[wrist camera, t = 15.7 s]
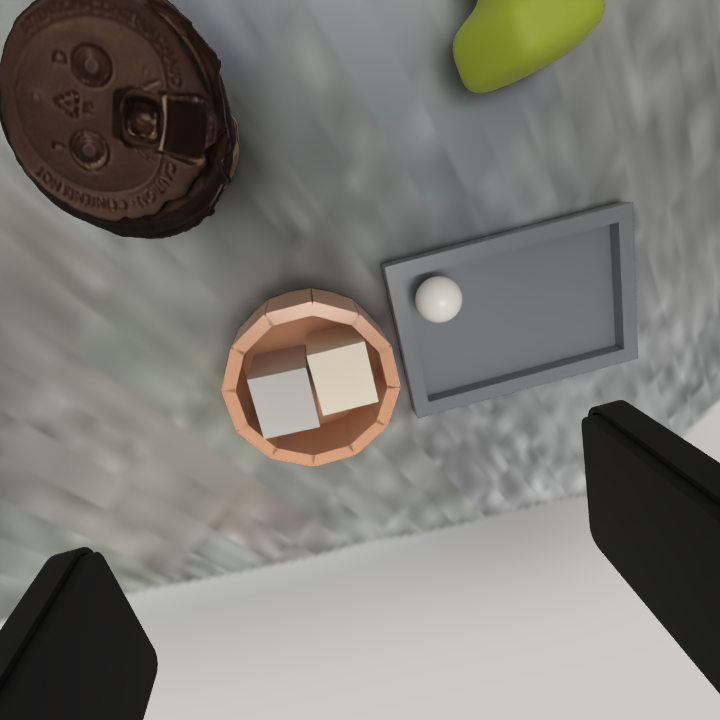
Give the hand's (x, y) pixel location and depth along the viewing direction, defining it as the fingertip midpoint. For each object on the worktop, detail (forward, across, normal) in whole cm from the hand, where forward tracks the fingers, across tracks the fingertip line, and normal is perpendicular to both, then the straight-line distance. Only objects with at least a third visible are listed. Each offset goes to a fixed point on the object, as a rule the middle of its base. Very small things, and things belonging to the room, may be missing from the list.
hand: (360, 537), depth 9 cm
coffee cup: (+24, +5, -10) cm, 27 cm away
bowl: (+24, +2, +5) cm, 25 cm away
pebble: (+24, -7, +2) cm, 25 cm away
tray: (+24, -13, +5) cm, 28 cm away
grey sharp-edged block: (+24, +4, +5) cm, 25 cm away
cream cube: (+24, 0, +5) cm, 24 cm away
